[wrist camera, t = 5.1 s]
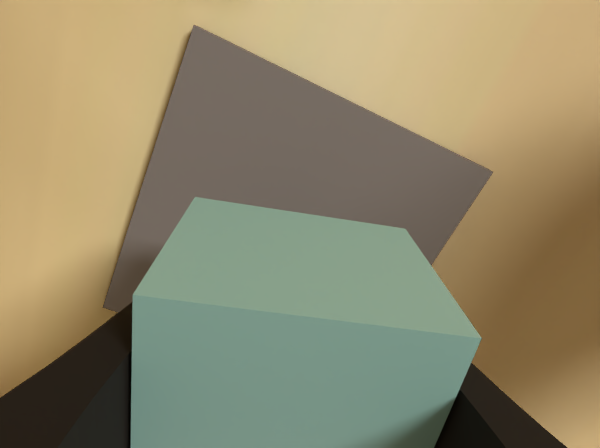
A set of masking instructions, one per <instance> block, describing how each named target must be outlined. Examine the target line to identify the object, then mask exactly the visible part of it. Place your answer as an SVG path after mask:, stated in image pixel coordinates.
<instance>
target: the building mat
mask: <svg viewBox="0 0 600 448" xmlns="http://www.w3.org/2000/svg"><path fill="white" fill-rule="evenodd" d="M492 173H493V172H492V171H490V170H489V169H487V168H485V167H483V166H480V165H478V164H476V163H474V162H472V161H470V160H468V159H466V158H464V157H462V156H460V155H458V154H456V153H454V152H452V151H450V150H448V149H446V148H444V147H442V146H440V145H438V144H436V143H434V142H432V141H430V140H428V139H426V138H424V137H422V136H420V135H417V134H415V133H413V132H411V131H409V130H407V129H405V128H403V127H401V126H399V125H397V124H395V123H393V122H391V121H389V120H387V119H385V118H383V117H381V116H379V115H377V114H375V113H373V112H371V111H369V110H367V109H365V108H363V107H361V106H359V105H356V104H354V103H352V102H350V101H348V100H346V99H344V98H342V97H340V96H338V95H336V94H334V93H332V92H330V91H328V90H326V89H324V88H322V87H320V86H318V85H316V84H314V83H312V82H310V81H308V80H306V79H304V78H302V77H300V76H298V75H296V74H293V73H291V72H289V71H287V70H285V69H283V68H281V67H279V66H277V65H275V64H273V63H271V62H269V61H267V60H265V59H263V58H261V57H259V56H257V55H255V54H253V53H251V52H249V51H247V50H245V49H243V48H241V47H239V46H237V45H235V44H232V43H230V42H228V41H226V40H224V39H222V38H220V37H218V36H216V35H214V34H212V33H210V32H208V31H206V30H204V29H202V28H200V27H198V26H196V25H194V26H193V29H192V32H191V35H190V38H189V41H188V45H187V48H186V51H185V54H184V57H183V60H182V63H181V66H180V69H179V72H178V76H177V79H176V82H175V85H174V88H173V91H172V94H171V97H170V100H169V104H168V107H167V110H166V113H165V116H164V119H163V122H162V125H161V128H160V131H159V135H158V138H157V141H156V144H155V147H154V150H153V153H152V156H151V159H150V162H149V166H148V169H147V172H146V175H145V178H144V181H143V184H142V187H141V190H140V194H139V197H138V200H137V203H136V206H135V209H134V212H133V215H132V218H131V221H130V225H129V228H128V231H127V234H126V237H125V240H124V243H123V246H122V249H121V252H120V256H119V259H118V262H117V265H116V268H115V271H114V274H113V277H112V280H111V284H110V287H109V290H108V293H107V296H106V299H105V302H104V305H103V308H106V309H109V310H112V311H115V312H120V311H121V310H122V309H123V308H125V307H126V306H127V305H129V304H130V303H131V302H132V301H133V293H134V292H135V290H136V289H137V287H138V286H139V284H140V282H141V281H142V279H143V278H144V276H145V275H146V273H147V271H148V270H149V268H150V267H151V265H152V264H153V262H154V261H155V259H156V257H157V256H158V254H159V253H160V251H161V250H162V248H163V246H164V245H165V243H166V242H167V240H168V239H169V237H170V235H171V234H172V232H173V231H174V229H175V228H176V226H177V224H178V223H179V221H180V220H181V218H182V217H183V215H184V213H185V212H186V210H187V209H188V207H189V206H190V204H191V202H192V201H193V199H194V198H195V197H199V198H206V199H212V200H219V201H226V202H232V203H239V204H245V205H252V206H259V207H265V208H272V209H279V210H285V211H292V212H298V213H305V214H312V215H318V216H325V217H332V218H338V219H345V220H351V221H358V222H365V223H371V224H378V225H384V226H391V227H398V228H404V229H406V230H407V232H408V233H409V235H410V236H411V237H412V239H413V240H414V242H415V243H416V245H417V246H418V247H419V249H420V250H421V252H422V253H423V255H424V256H425V258H426V259H427V260H428V262H429V263H430V265H432V263H433V262H434V260H435V259H436V257H437V256H438V254H439V253H440V251H441V250H442V248H443V247H444V245H445V244H446V242H447V241H448V239H449V238H450V236H451V235H452V233H453V232H454V230H455V229H456V227H457V226H458V224H459V223H460V221H461V220H462V218H463V217H464V215H465V214H466V212H467V211H468V209H469V208H470V206H471V205H472V203H473V202H474V200H475V199H476V197H477V196H478V194H479V193H480V191H481V190H482V188H483V187H484V185H485V184H486V182H487V181H488V179H489V178H490V176H491V175H492Z"/></svg>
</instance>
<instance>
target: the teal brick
mask: <svg viewBox="0 0 600 448" xmlns="http://www.w3.org/2000/svg"><path fill="white" fill-rule="evenodd" d="M481 339H482V338H481V336H480V335H479V334H478V332H477V331H476V329H475V328H474V326H473V325H472V324H471V322H470V321H469V319H468V318H467V316H466V315H465V314H464V312H463V311H462V309H461V308H460V306H459V305H458V303H457V302H456V301H455V299H454V298H453V296H452V295H451V293H450V292H449V291H448V289H447V288H446V286H445V285H444V283H443V282H442V280H441V279H440V278H439V276H438V275H437V273H436V272H435V270H434V269H433V268H432V266H431V265H430V263H429V262H428V260H427V259H426V258H425V256H424V255H423V253H422V252H421V250H420V249H419V247H418V246H417V245H416V243H415V242H414V240H413V239H412V237H411V236H410V235H409V233H408V232H407V230H406V229H404V228H398V227H391V226H384V225H378V224H371V223H365V222H358V221H351V220H345V219H338V218H332V217H325V216H318V215H312V214H305V213H298V212H292V211H285V210H279V209H272V208H265V207H259V206H252V205H245V204H239V203H232V202H226V201H219V200H212V199H206V198H199V197H195V198H194V199H193V201H192V202H191V204H190V206H189V207H188V209H187V210H186V212H185V213H184V215H183V217H182V218H181V220H180V221H179V223H178V224H177V226H176V228H175V229H174V231H173V232H172V234H171V235H170V237H169V239H168V240H167V242H166V243H165V245H164V246H163V248H162V250H161V251H160V253H159V254H158V256H157V257H156V259H155V261H154V262H153V264H152V265H151V267H150V268H149V270H148V271H147V273H146V275H145V276H144V278H143V279H142V281H141V282H140V284H139V286H138V287H137V289H136V290H135V292H134V293H133V303H132V377H131V448H434V446H435V444H436V442H437V440H438V437H439V435H440V433H441V430H442V428H443V426H444V424H445V421H446V419H447V417H448V414H449V412H450V410H451V408H452V405H453V403H454V401H455V398H456V396H457V394H458V392H459V389H460V387H461V385H462V382H463V380H464V378H465V376H466V373H467V371H468V369H469V366H470V364H471V362H472V360H473V357H474V355H475V353H476V350H477V348H478V346H479V344H480V341H481Z"/></svg>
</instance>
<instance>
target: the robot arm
mask: <svg viewBox="0 0 600 448" xmlns="http://www.w3.org/2000/svg"><path fill="white" fill-rule="evenodd" d="M132 303H133V301H132V302H131V303H130V304H129V305H127V306H126V307H125V308H123V309H122V310H121V311H120V312H118V313H117V314H116V315H114V316H113V317H112V318H111V319H109V320H108V321H107V322H106V323H104V324H103V325H102V326H100V327H99V328H98V329H96V330H95V331H94V332H93V333H91V334H90V335H89V336H87V337H86V338H85V339H83V340H82V341H81V342H79V343H78V344H77V345H75V346H74V347H72V348H71V349H70V350H68V351H67V352H66V353H64V354H63V355H62V356H60V357H59V358H58V359H56V360H55V361H53V362H52V363H51V364H49V365H48V366H46V367H45V368H44V369H42V370H41V371H39V372H38V373H36V374H35V375H33V376H32V377H30V378H29V379H27V380H26V381H24V382H23V383H21V384H20V385H18V386H17V387H15V388H14V389H13V390H11V391H10V392H8V393H7V394H5V395H4V396H2V397H1V398H0V448H131V377H132ZM434 448H567V447H566V446H565V445H564V444H562V443H561V442H560V441H559V440H558V439H556V438H555V437H554V436H553V435H552V434H550V433H549V432H548V431H547V430H546V429H544V428H543V427H542V426H541V425H540V424H539V423H537V422H536V421H535V420H534V419H533V418H532V417H531V416H529V415H528V414H527V413H526V412H525V411H524V410H523V409H521V408H520V407H519V406H518V405H517V404H516V403H515V402H514V401H513V400H511V399H510V398H509V397H508V396H507V395H506V394H505V393H504V392H503V391H501V390H500V389H499V388H498V387H497V386H496V385H495V384H494V383H493V382H492V381H491V380H489V379H488V378H487V377H486V376H485V375H484V374H483V373H482V372H481V371H480V370H479V369H478V368H476V367H475V366H474V365H473V364H472V363H471V364H470V366H469V369H468V371H467V373H466V376H465V378H464V380H463V382H462V385H461V387H460V389H459V392H458V394H457V396H456V398H455V401H454V403H453V405H452V408H451V410H450V412H449V414H448V417H447V419H446V421H445V424H444V426H443V428H442V430H441V433H440V435H439V437H438V440H437V442H436V444H435V446H434Z"/></svg>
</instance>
